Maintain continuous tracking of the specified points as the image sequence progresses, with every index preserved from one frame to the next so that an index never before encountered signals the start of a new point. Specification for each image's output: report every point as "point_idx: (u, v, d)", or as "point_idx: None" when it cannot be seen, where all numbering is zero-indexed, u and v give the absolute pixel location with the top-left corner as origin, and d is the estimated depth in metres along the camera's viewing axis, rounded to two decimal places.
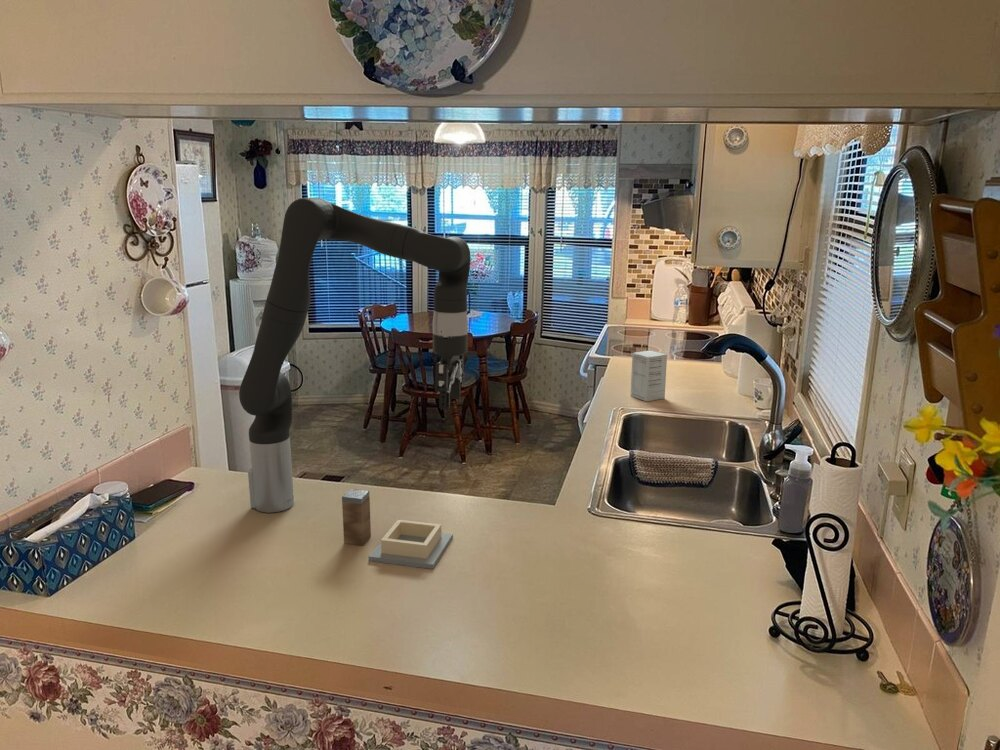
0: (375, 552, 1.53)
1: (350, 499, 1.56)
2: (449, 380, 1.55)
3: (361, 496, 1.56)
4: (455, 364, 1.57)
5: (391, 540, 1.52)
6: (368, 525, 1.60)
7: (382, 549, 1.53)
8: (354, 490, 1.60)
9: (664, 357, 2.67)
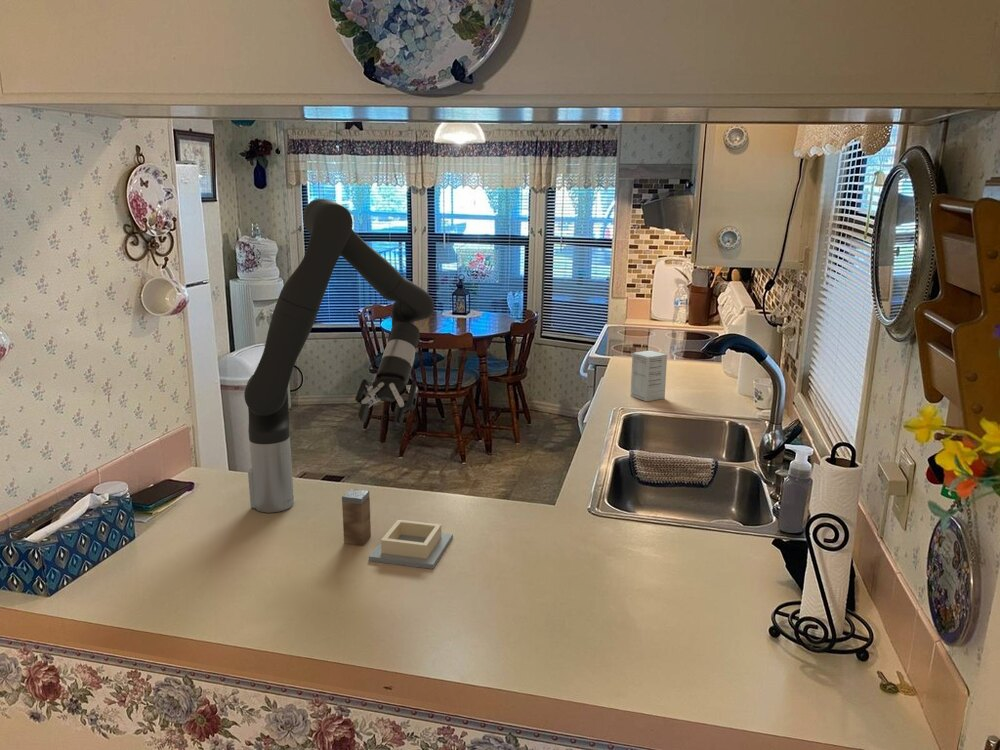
0: (375, 552, 1.53)
1: (350, 499, 1.56)
2: (403, 401, 1.71)
3: (361, 496, 1.56)
4: None
5: (391, 540, 1.52)
6: (368, 525, 1.60)
7: (382, 549, 1.53)
8: (354, 490, 1.60)
9: (664, 357, 2.67)
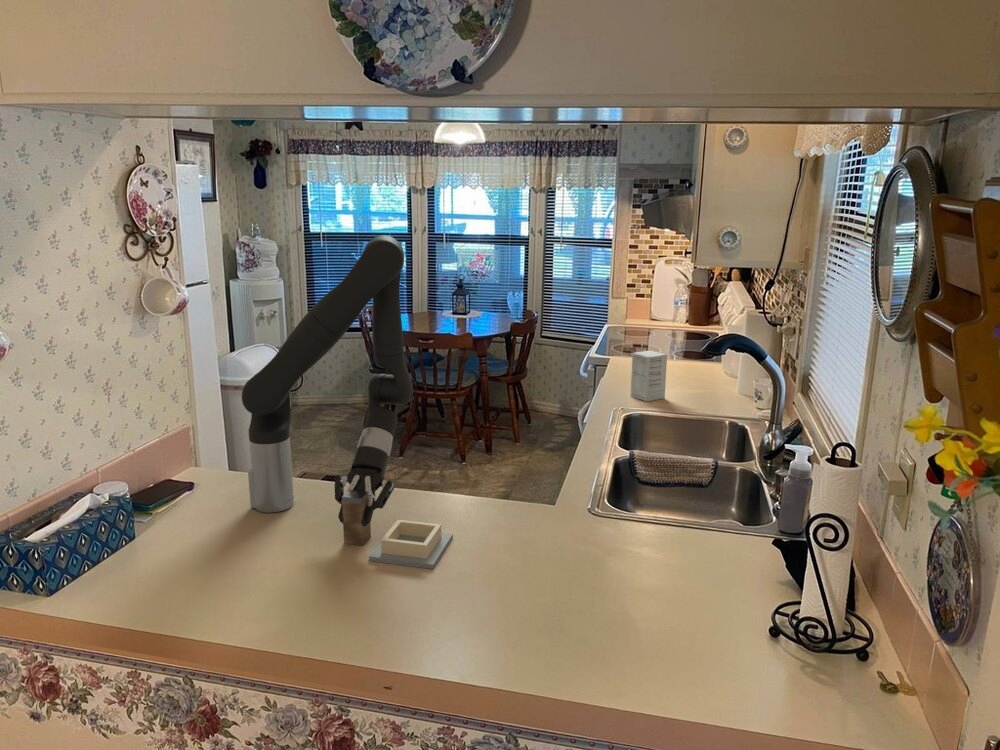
0: (375, 552, 1.53)
1: (350, 499, 1.56)
2: (374, 498, 1.61)
3: (361, 496, 1.56)
4: None
5: (391, 540, 1.52)
6: (368, 525, 1.60)
7: (382, 549, 1.53)
8: (354, 490, 1.60)
9: (664, 357, 2.67)
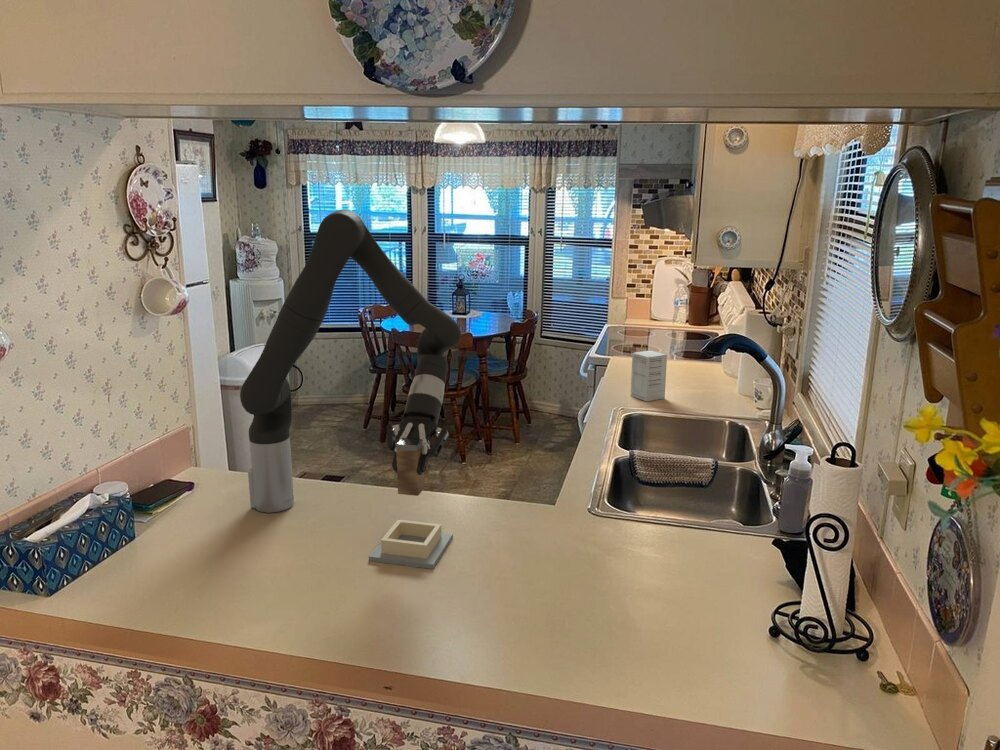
0: (375, 552, 1.53)
1: (405, 446, 1.49)
2: (429, 447, 1.54)
3: (416, 443, 1.49)
4: None
5: (391, 540, 1.52)
6: (422, 475, 1.53)
7: (382, 549, 1.53)
8: (408, 438, 1.53)
9: (664, 357, 2.67)
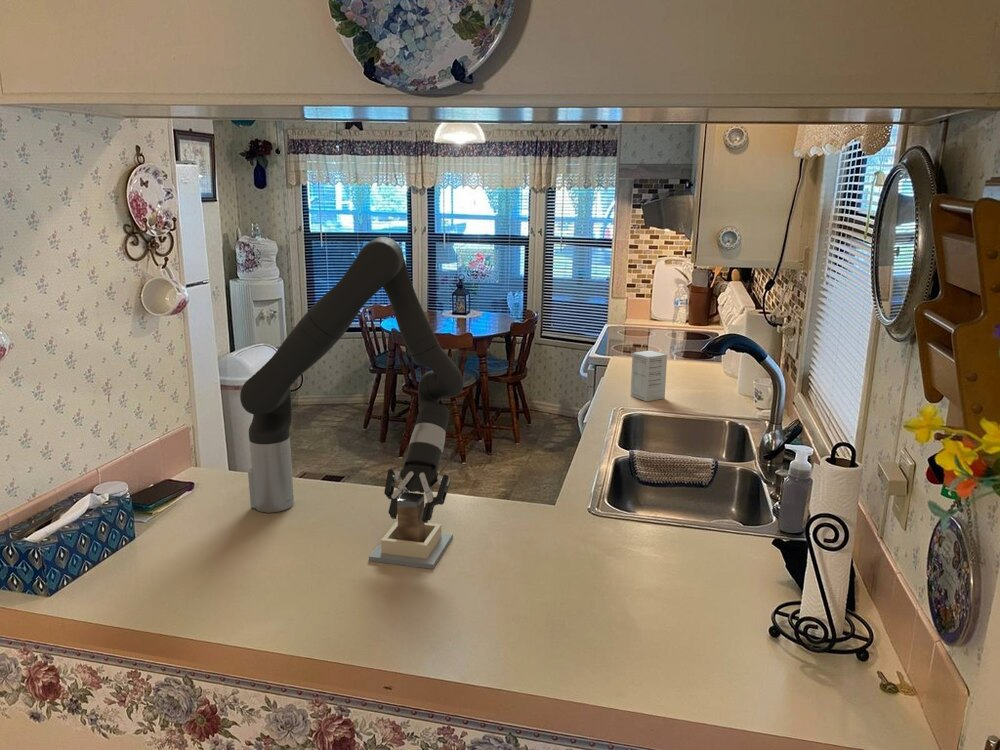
0: (375, 552, 1.53)
1: (406, 503, 1.52)
2: (432, 494, 1.56)
3: (417, 499, 1.52)
4: None
5: (391, 540, 1.52)
6: (423, 529, 1.56)
7: (382, 549, 1.53)
8: (409, 493, 1.56)
9: (664, 357, 2.67)
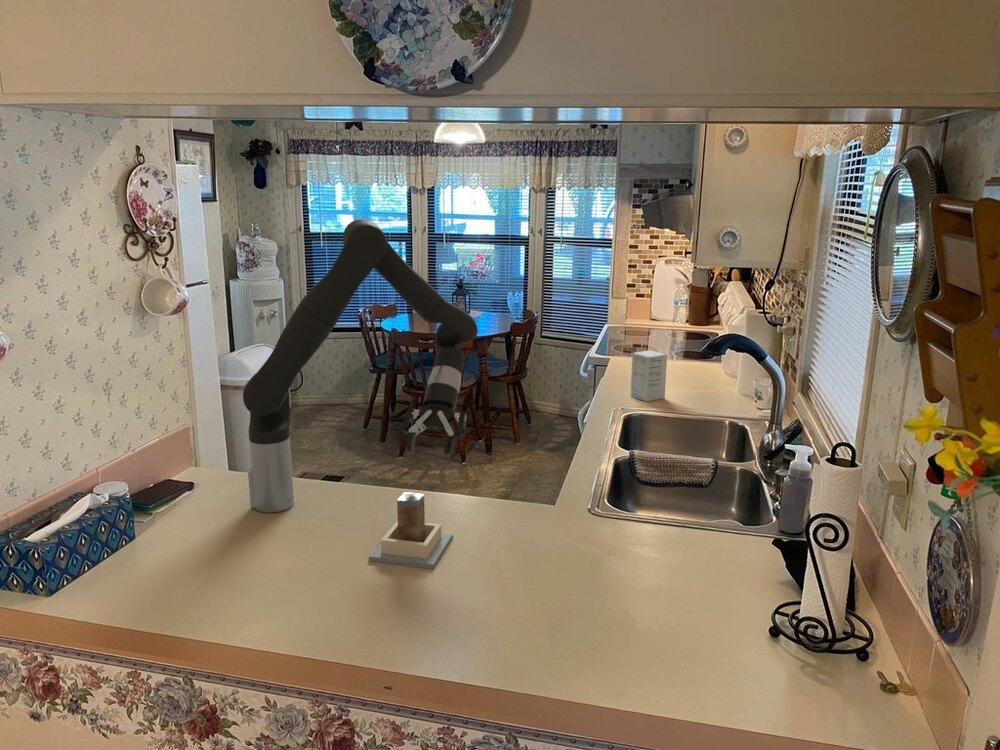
0: (375, 552, 1.53)
1: (406, 503, 1.52)
2: None
3: (417, 499, 1.52)
4: None
5: (391, 540, 1.52)
6: (423, 529, 1.56)
7: (382, 549, 1.53)
8: (409, 493, 1.56)
9: (664, 357, 2.67)
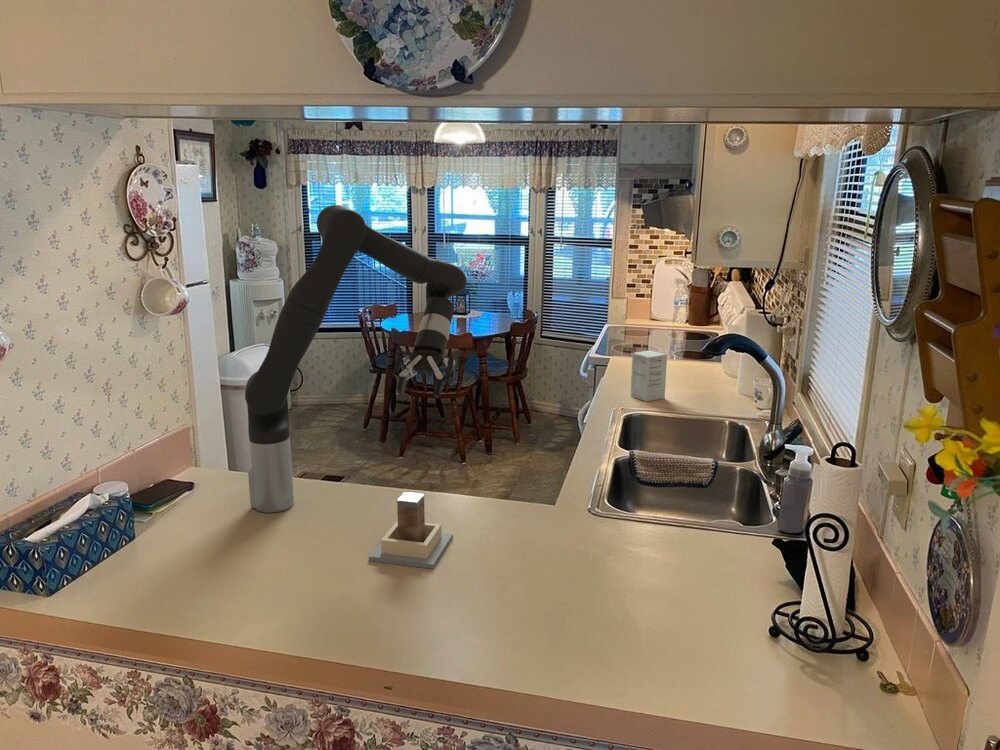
0: (375, 552, 1.53)
1: (406, 503, 1.52)
2: None
3: (417, 499, 1.52)
4: None
5: (391, 540, 1.52)
6: (423, 529, 1.56)
7: (382, 549, 1.53)
8: (409, 493, 1.56)
9: (664, 357, 2.67)
